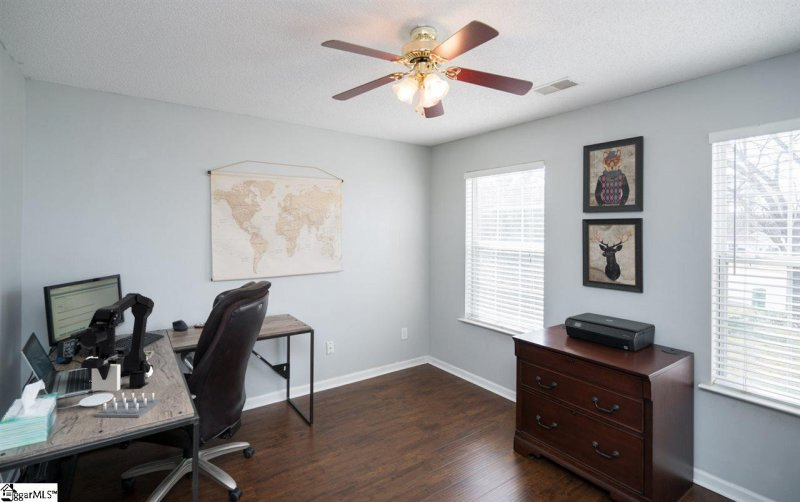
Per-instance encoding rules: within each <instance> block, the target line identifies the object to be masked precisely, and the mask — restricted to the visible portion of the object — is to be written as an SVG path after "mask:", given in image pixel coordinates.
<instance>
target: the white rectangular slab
mask: <svg viewBox="0 0 800 502" xmlns="http://www.w3.org/2000/svg"><path fill="white" fill-rule="evenodd" d="M119 390H121V377H120V364H111V365H110V368H109V372H108V375H107V378H106V380H102V377H101V375H100V373H99V371H98V369H97V368H95V369H92V383H91V391H109V392H110V391H112V392H115V391H116V392H117V391H119Z"/></svg>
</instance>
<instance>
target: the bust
mask: <svg viewBox="0 0 800 502" xmlns="http://www.w3.org/2000/svg"><path fill="white" fill-rule="evenodd" d="M151 365H152V364H151ZM151 365H150V366H151ZM153 373H154V368H153V369H152V367H151V368H150V371H149V373H145V378H149V377H151V376H152V374H153Z"/></svg>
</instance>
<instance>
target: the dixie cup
mask: <svg viewBox="0 0 800 502" xmlns="http://www.w3.org/2000/svg"><path fill="white" fill-rule="evenodd" d="M88 358H98V357H93V356H91V357H88ZM88 358H86V359H88ZM86 359H84V360H86ZM86 369H87V375H88V381H89V382H90V381H91V382H92V368H86Z"/></svg>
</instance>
